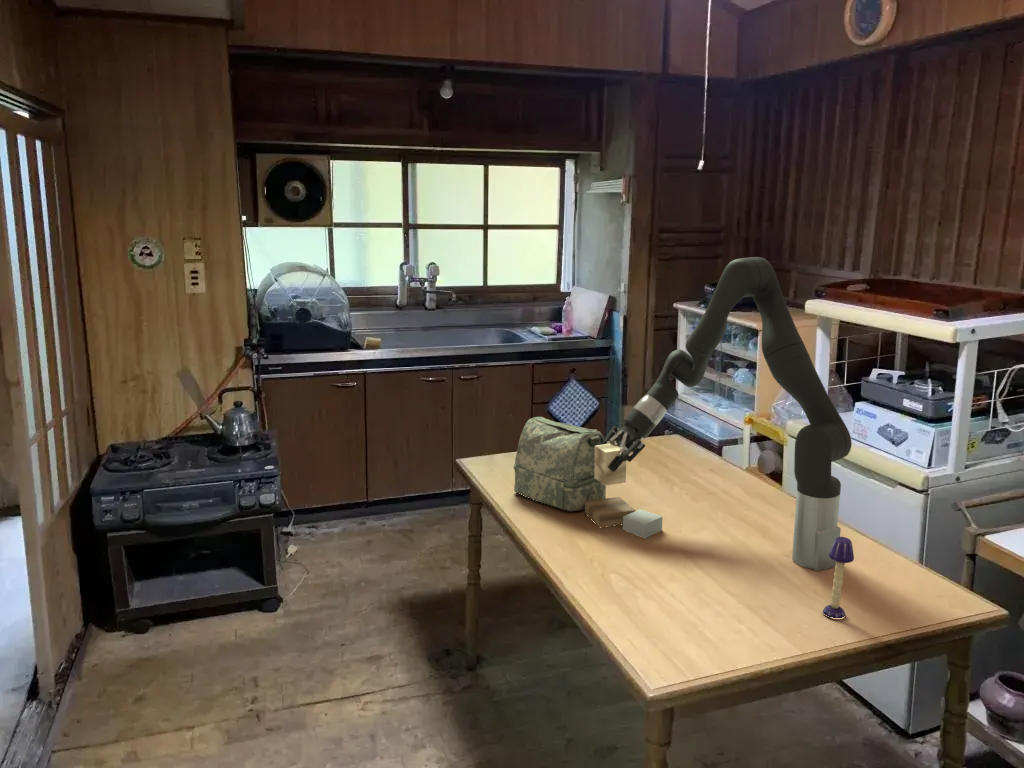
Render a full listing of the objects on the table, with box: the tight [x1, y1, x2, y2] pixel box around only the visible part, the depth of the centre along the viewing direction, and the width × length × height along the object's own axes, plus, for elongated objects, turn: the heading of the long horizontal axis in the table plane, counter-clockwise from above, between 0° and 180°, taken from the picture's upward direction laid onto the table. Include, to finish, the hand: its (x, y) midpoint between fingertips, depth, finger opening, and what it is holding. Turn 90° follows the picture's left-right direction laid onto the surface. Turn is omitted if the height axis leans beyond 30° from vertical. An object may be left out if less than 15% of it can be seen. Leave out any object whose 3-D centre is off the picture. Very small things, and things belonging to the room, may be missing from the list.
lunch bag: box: [513, 416, 607, 512], centre depth 224 cm, size 26×18×22 cm
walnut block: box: [584, 496, 636, 528], centre depth 211 cm, size 10×10×4 cm
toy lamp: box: [822, 536, 855, 618], centre depth 160 cm, size 5×5×17 cm
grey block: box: [622, 508, 663, 539], centre depth 203 cm, size 7×7×4 cm
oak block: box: [594, 444, 627, 487], centre depth 208 cm, size 6×6×9 cm
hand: (604, 465), depth 207 cm, fingers closed on oak block, 6 cm apart
